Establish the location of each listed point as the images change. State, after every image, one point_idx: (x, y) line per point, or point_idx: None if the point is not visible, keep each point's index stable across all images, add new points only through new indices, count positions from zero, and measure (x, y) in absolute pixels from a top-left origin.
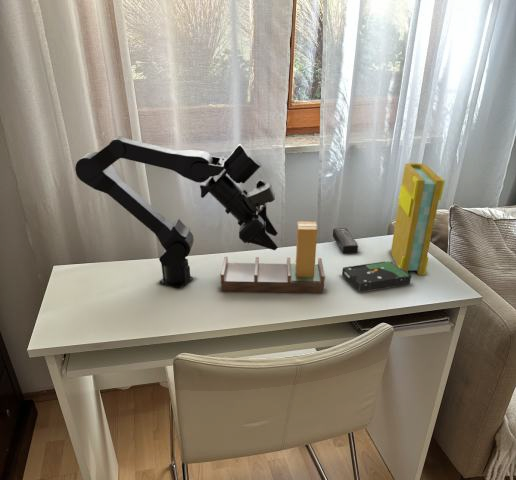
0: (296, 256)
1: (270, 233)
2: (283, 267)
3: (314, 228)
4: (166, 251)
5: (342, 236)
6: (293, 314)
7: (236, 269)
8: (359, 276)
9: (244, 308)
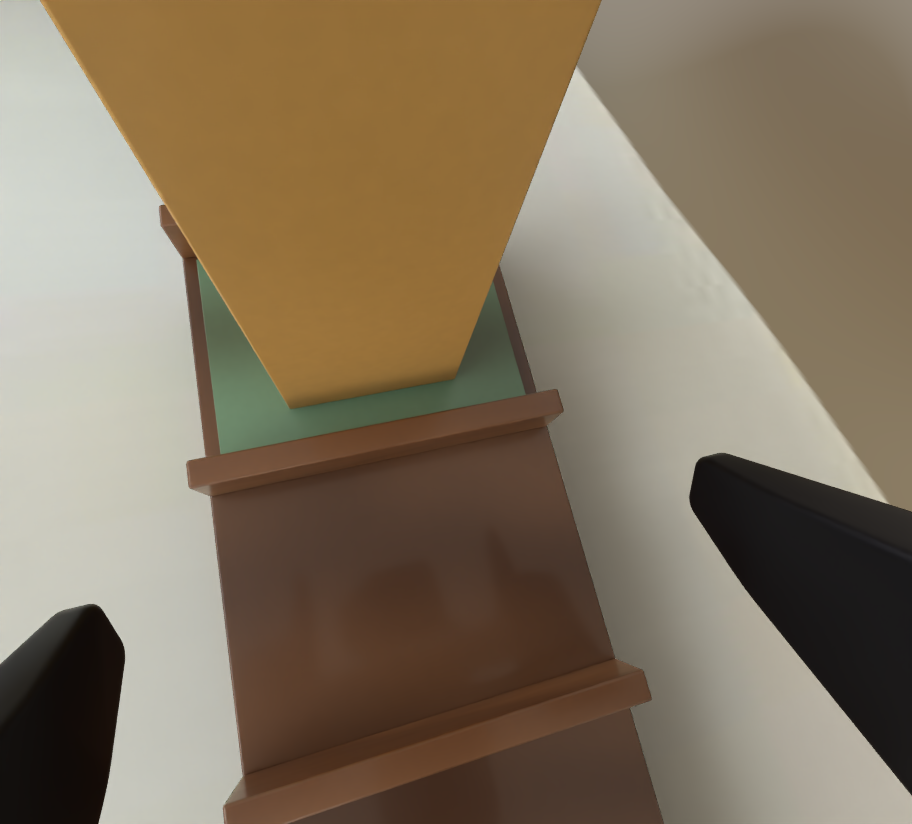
0: (363, 342)
1: (104, 760)
2: (295, 509)
3: None
4: None
5: None
6: (736, 370)
7: None
8: None
9: (795, 660)
